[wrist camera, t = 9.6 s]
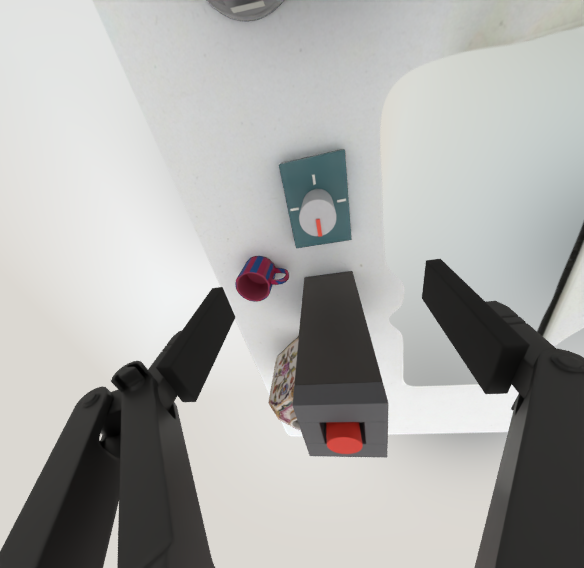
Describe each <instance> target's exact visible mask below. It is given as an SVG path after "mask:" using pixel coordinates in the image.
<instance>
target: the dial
mask: <svg viewBox="0 0 584 568" xmlns="http://www.w3.org/2000/svg"><path fill="white" fill-rule="evenodd" d="M299 221H300V225H301V227H302V229H303V230H304V231H305V232H306V233H308V234H310V235H312V236H318V237H320V236H322V235H325V234H327V233H328V232H330V231H331V230H332V229H333V227H334V225H335V223H336V211H335V208H334V204H333V200H332V197H331V196H330V194H329V193H328V192H327V191H325V190H323V189H314V190H311V191H310V192H308V193H307V194H306V196H305V197H304V199H303V203H302V207H301V211H300V215H299Z"/></svg>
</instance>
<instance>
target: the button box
mask: <svg viewBox="0 0 584 568" xmlns="http://www.w3.org/2000/svg"><path fill="white" fill-rule="evenodd" d="M292 406H293V409H294V412H295V415H296V417H297V420H298V423H299V426H300V429H301V432H302V435H303V438H304V440H305V443H306V446H307V449H308V451H309V454H310V456H340V457H387V443H388V400H387V397H386V393H385V389H384V386H383V382H382V378H381V375H380V371H379V367H378V364H377V360H376V356H375V353H374V349H373V345H372V342H371V338H370V334H369V331H368V327H367V323H366V320H365V316H364V312H363V309H362V305H361V301H360V298H359V294H358V290H357V287H356V283H355V279H354V276H353V272H352V271H351V272H343V273H335V274H327V275H320V276H312V277H305V278H304V288H303V298H302V309H301V319H300V330H299V340H298V351H297V361H296V372H295V382H294V393H293V403H292ZM326 422H359V425H360V432H361V438H362V445H363V447H362V449H361V450H360V451H359V452H356V453H353V454H340V453H336V452H333V451H331V450H330V449H329V448H328V447H327V438H326Z"/></svg>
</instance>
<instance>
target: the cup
mask: <svg viewBox="0 0 584 568" xmlns="http://www.w3.org/2000/svg"><path fill="white" fill-rule="evenodd" d="M276 273H285V274H286V276H285V277H284V278H282V279H278V280H274V278H275V275H276ZM288 279H289V273H288V271H287V270H286V269H282V268H275V266H274V264H273V263H272V262H271V261H270V260H269V259H267V258H265V257H262V256H255V257H252V258H250V259H249V260H248V261H247V262H246V264H245V266H244V267H243V269H242V271H241V273H240V274H239V276H238V278H237V279H236V289H237V291H238V293H239V294H240V295H241V296H242V297H243V298H245V299H247V300H249V301H261V300H264V299H265V298H267V297H268V295H269V293H270V291H271V287H272V284H273V285H278V284H283V283H285V282H286V281H287V280H288Z"/></svg>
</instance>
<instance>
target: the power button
mask: <svg viewBox="0 0 584 568" xmlns="http://www.w3.org/2000/svg"><path fill="white" fill-rule="evenodd" d="M326 438H327V447H328V448H329V449H330V450H331V451H333V452H336V453H340V454H353V453H356V452H359V451H360V450H361V449H362V447H363V445H362V438H361V432H360V425H359V422H326Z"/></svg>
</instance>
